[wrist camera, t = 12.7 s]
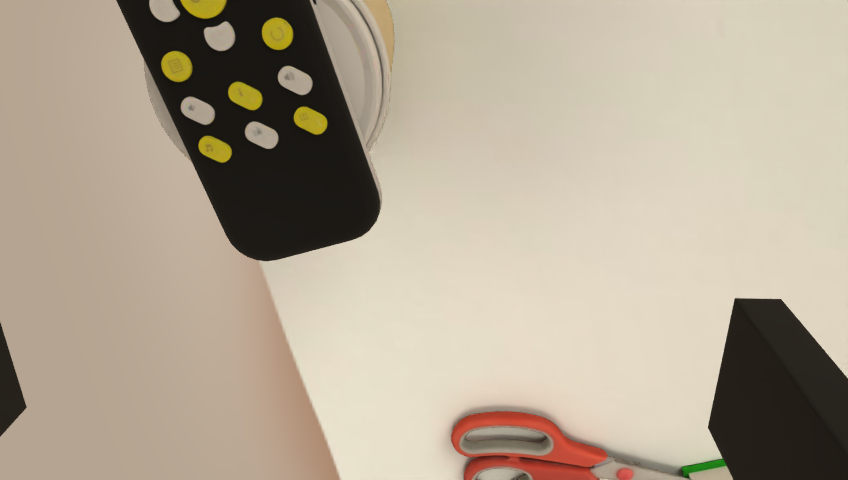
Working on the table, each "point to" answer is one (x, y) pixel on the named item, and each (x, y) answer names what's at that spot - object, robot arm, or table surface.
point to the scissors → (541, 452)
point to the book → (708, 471)
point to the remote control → (262, 119)
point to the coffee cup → (339, 63)
